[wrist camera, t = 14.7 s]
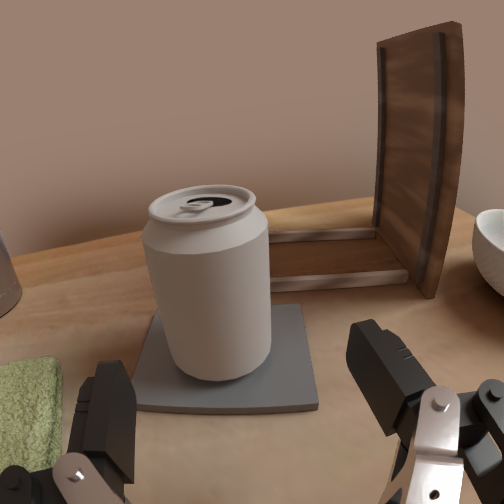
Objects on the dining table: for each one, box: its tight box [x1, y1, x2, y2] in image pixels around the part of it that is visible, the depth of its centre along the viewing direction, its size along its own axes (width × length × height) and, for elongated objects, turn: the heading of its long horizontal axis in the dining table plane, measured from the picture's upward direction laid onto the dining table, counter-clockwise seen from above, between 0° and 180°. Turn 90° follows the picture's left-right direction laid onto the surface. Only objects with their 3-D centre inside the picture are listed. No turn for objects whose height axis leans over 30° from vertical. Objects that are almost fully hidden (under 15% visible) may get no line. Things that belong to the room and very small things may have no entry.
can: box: [141, 185, 271, 381], centre depth 21 cm, size 8×8×12 cm
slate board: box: [131, 303, 319, 414], centre depth 24 cm, size 13×11×1 cm
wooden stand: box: [268, 21, 465, 299], centre depth 31 cm, size 18×18×26 cm
